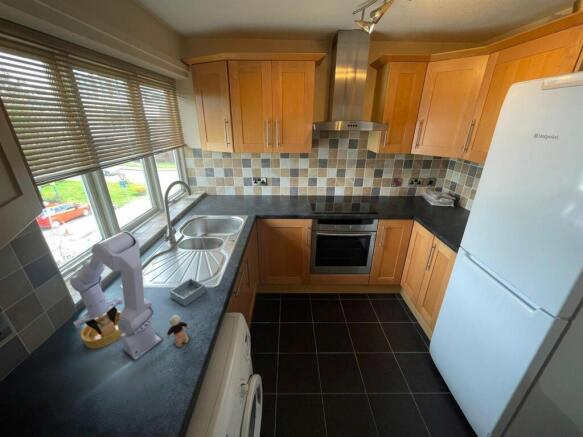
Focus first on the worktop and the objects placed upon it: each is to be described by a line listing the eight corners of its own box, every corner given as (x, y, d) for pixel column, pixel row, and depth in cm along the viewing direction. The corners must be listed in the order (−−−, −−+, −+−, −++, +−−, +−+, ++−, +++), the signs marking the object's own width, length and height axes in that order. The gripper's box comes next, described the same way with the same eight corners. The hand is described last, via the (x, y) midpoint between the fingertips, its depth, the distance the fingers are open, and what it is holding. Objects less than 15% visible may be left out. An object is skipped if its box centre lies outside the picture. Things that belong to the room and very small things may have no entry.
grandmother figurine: (188, 333, 91) (181, 307, 86) (193, 338, 88) (187, 312, 84) (168, 347, 85) (160, 320, 80) (173, 353, 83) (165, 326, 78)
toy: (104, 338, 88) (97, 322, 85) (99, 332, 91) (92, 317, 88) (116, 330, 91) (110, 315, 88) (110, 325, 94) (104, 310, 91)
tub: (185, 306, 104) (183, 299, 102) (171, 297, 109) (169, 290, 107) (205, 291, 113) (204, 284, 111) (192, 284, 118) (190, 277, 116)
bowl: (94, 356, 82) (90, 348, 81) (78, 337, 89) (74, 330, 88) (137, 327, 93) (134, 320, 92) (119, 313, 100) (116, 306, 99)
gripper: (112, 285, 93) (122, 312, 98) (64, 309, 81) (79, 337, 87) (121, 292, 89) (130, 319, 95) (73, 317, 78) (87, 346, 83)
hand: (106, 328), depth 90 cm, fingers closed on toy, 4 cm apart
